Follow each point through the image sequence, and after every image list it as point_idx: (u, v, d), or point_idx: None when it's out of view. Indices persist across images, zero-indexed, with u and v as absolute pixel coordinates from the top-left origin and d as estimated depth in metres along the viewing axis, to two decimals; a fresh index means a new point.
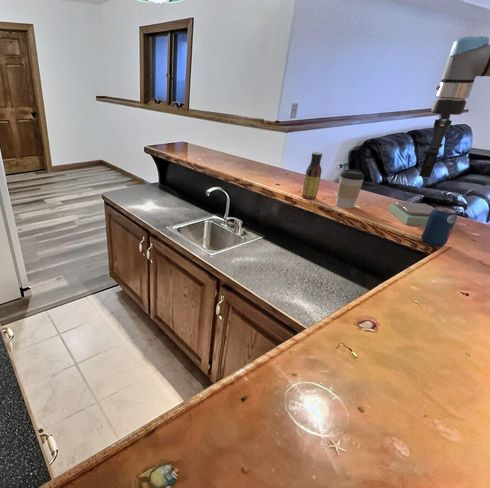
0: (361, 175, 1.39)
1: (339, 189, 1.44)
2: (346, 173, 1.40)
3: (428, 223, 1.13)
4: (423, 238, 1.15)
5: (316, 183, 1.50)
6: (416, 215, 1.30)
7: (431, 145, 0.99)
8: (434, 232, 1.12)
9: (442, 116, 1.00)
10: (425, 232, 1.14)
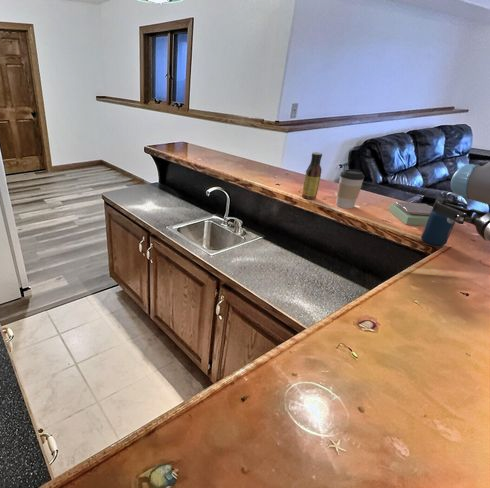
0: (361, 175, 1.39)
1: (339, 189, 1.44)
2: (346, 173, 1.40)
3: (428, 223, 1.13)
4: (423, 238, 1.15)
5: (316, 183, 1.50)
6: (416, 215, 1.30)
7: None
8: (434, 232, 1.12)
9: None
10: (425, 232, 1.14)
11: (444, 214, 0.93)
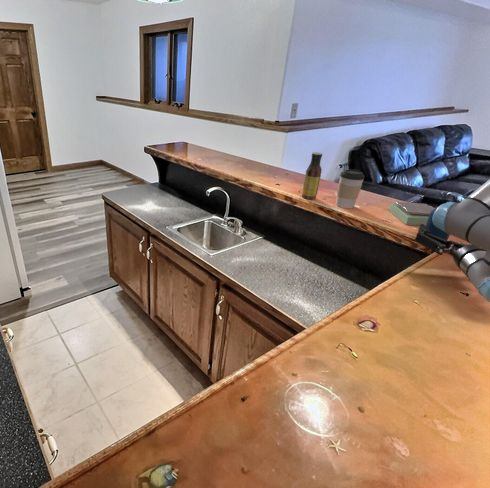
0: (361, 175, 1.39)
1: (339, 189, 1.44)
2: (346, 173, 1.40)
3: (428, 223, 1.13)
4: None
5: (316, 183, 1.50)
6: (416, 215, 1.30)
7: None
8: (434, 232, 1.12)
9: None
10: None
11: (425, 244, 1.01)
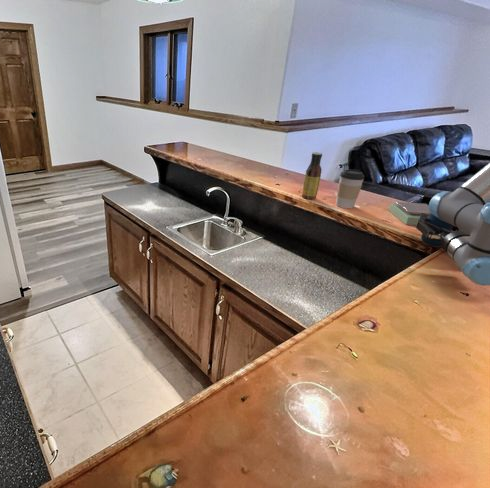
0: (361, 175, 1.39)
1: (339, 189, 1.44)
2: (346, 173, 1.40)
3: None
4: (423, 238, 1.15)
5: (316, 183, 1.50)
6: (416, 215, 1.30)
7: None
8: None
9: None
10: None
11: (421, 231, 1.09)
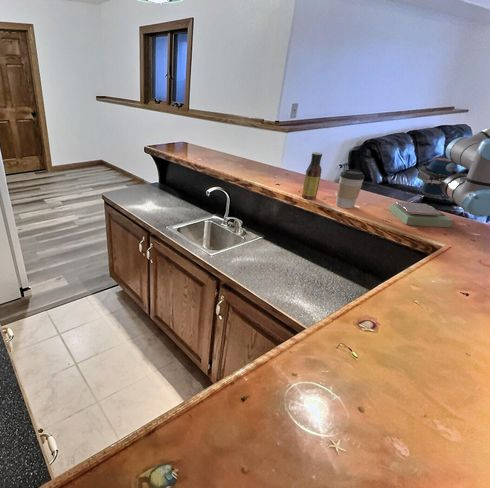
0: (361, 175, 1.39)
1: (339, 189, 1.44)
2: (346, 173, 1.40)
3: None
4: (423, 188, 1.22)
5: (316, 183, 1.50)
6: (416, 215, 1.30)
7: None
8: None
9: None
10: None
11: (422, 179, 1.16)
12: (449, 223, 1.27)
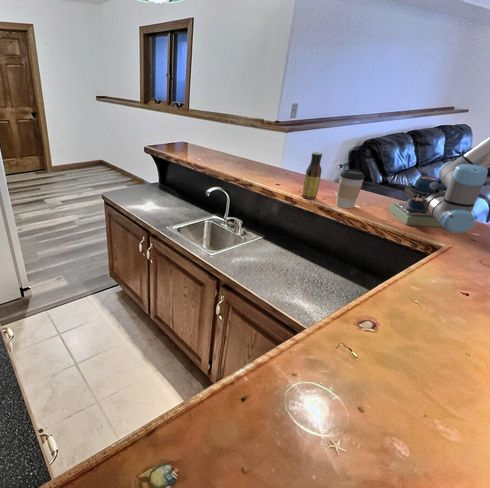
0: (361, 175, 1.39)
1: (339, 189, 1.44)
2: (346, 173, 1.40)
3: None
4: (410, 204, 1.33)
5: (316, 183, 1.50)
6: (416, 215, 1.30)
7: None
8: None
9: None
10: None
11: (407, 196, 1.27)
12: None
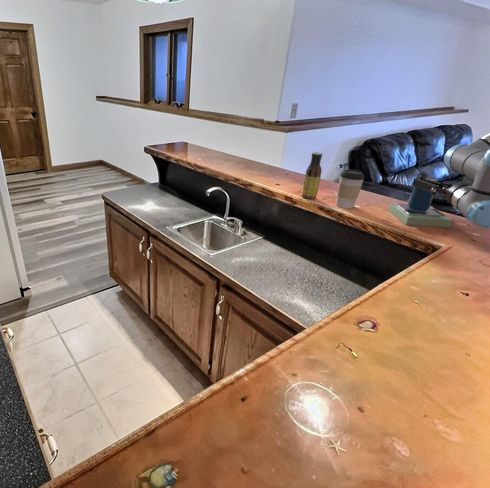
0: (361, 175, 1.39)
1: (339, 189, 1.44)
2: (346, 173, 1.40)
3: (413, 191, 1.31)
4: (409, 204, 1.33)
5: (316, 183, 1.50)
6: None
7: None
8: (419, 199, 1.30)
9: None
10: (411, 199, 1.32)
11: (421, 187, 1.12)
12: (449, 223, 1.27)
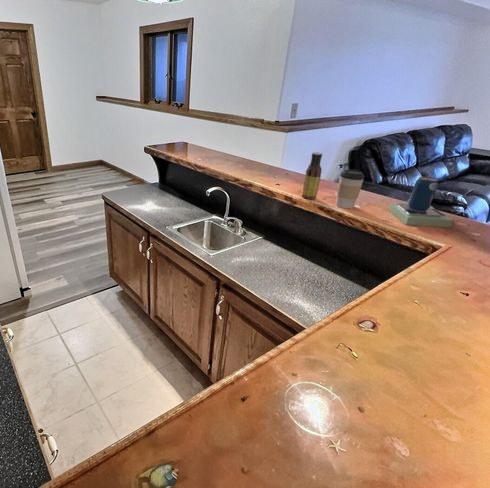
0: (361, 175, 1.39)
1: (339, 189, 1.44)
2: (346, 173, 1.40)
3: (413, 191, 1.31)
4: (409, 204, 1.33)
5: (316, 183, 1.50)
6: None
7: None
8: (419, 199, 1.30)
9: None
10: (411, 199, 1.32)
11: None
12: (449, 223, 1.27)
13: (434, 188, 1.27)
